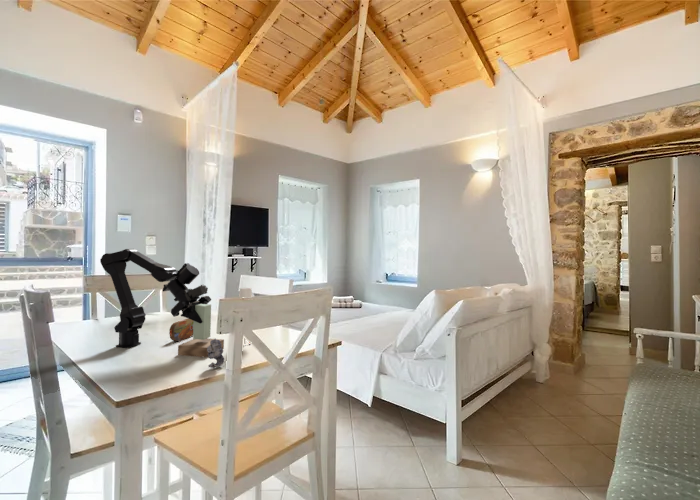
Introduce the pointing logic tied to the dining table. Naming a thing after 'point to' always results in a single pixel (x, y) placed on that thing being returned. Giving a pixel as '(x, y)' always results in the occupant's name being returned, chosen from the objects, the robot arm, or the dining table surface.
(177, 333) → the tin
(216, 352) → the grey lumpy figurine
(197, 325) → the sage block
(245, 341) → the champagne flute
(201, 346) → the walnut block
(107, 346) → the dining table surface
